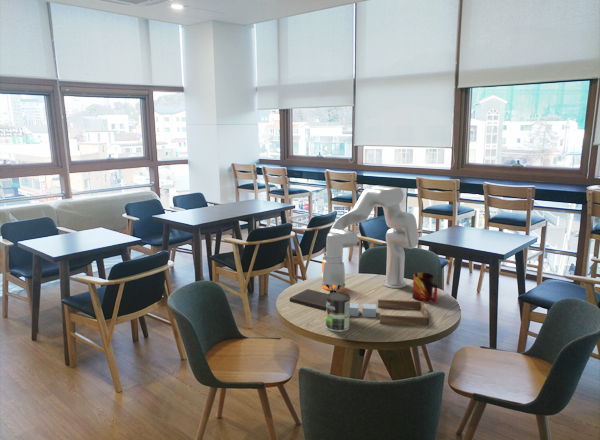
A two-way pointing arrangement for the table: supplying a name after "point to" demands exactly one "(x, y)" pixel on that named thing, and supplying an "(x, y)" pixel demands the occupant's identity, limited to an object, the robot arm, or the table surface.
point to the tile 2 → (369, 310)
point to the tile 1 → (354, 309)
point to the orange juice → (322, 277)
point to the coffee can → (337, 311)
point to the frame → (404, 319)
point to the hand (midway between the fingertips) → (333, 297)
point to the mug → (424, 287)
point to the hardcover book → (310, 299)
